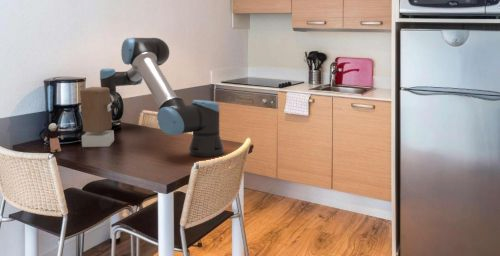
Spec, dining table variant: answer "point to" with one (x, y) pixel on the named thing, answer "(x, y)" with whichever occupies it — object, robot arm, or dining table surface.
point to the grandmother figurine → (53, 138)
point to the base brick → (98, 139)
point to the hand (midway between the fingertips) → (94, 108)
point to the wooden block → (95, 109)
